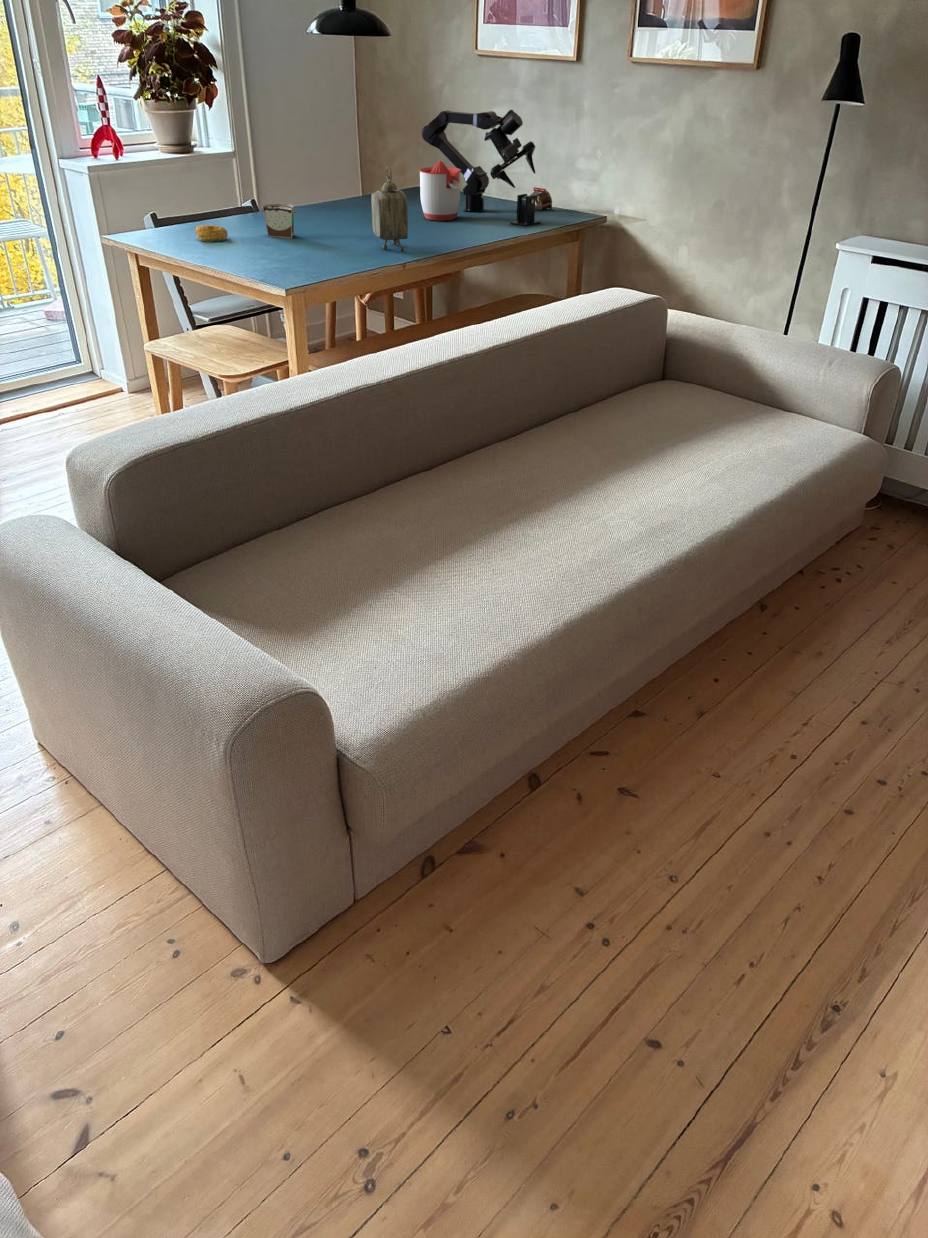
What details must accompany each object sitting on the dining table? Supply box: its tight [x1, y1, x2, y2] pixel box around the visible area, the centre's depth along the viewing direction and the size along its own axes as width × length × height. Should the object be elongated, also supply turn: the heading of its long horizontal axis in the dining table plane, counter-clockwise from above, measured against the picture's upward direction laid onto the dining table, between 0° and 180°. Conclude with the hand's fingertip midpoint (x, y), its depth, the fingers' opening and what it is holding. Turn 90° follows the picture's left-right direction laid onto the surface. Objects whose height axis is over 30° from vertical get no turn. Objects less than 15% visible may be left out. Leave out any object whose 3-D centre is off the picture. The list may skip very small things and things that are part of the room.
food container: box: [261, 203, 296, 239], centre depth 330 cm, size 12×6×10 cm, turn 71°
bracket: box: [509, 193, 541, 228], centre depth 348 cm, size 9×7×10 cm
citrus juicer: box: [418, 160, 461, 222], centre depth 355 cm, size 16×17×20 cm
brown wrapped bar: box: [521, 186, 547, 206], centre depth 348 cm, size 10×5×2 cm, turn 137°
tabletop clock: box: [370, 166, 409, 253], centre depth 309 cm, size 14×9×25 cm, turn 17°
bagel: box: [195, 224, 229, 243], centre depth 326 cm, size 10×11×5 cm
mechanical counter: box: [535, 190, 553, 211], centre depth 373 cm, size 7×13×10 cm
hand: (524, 180), depth 359 cm, fingers open, 9 cm apart
